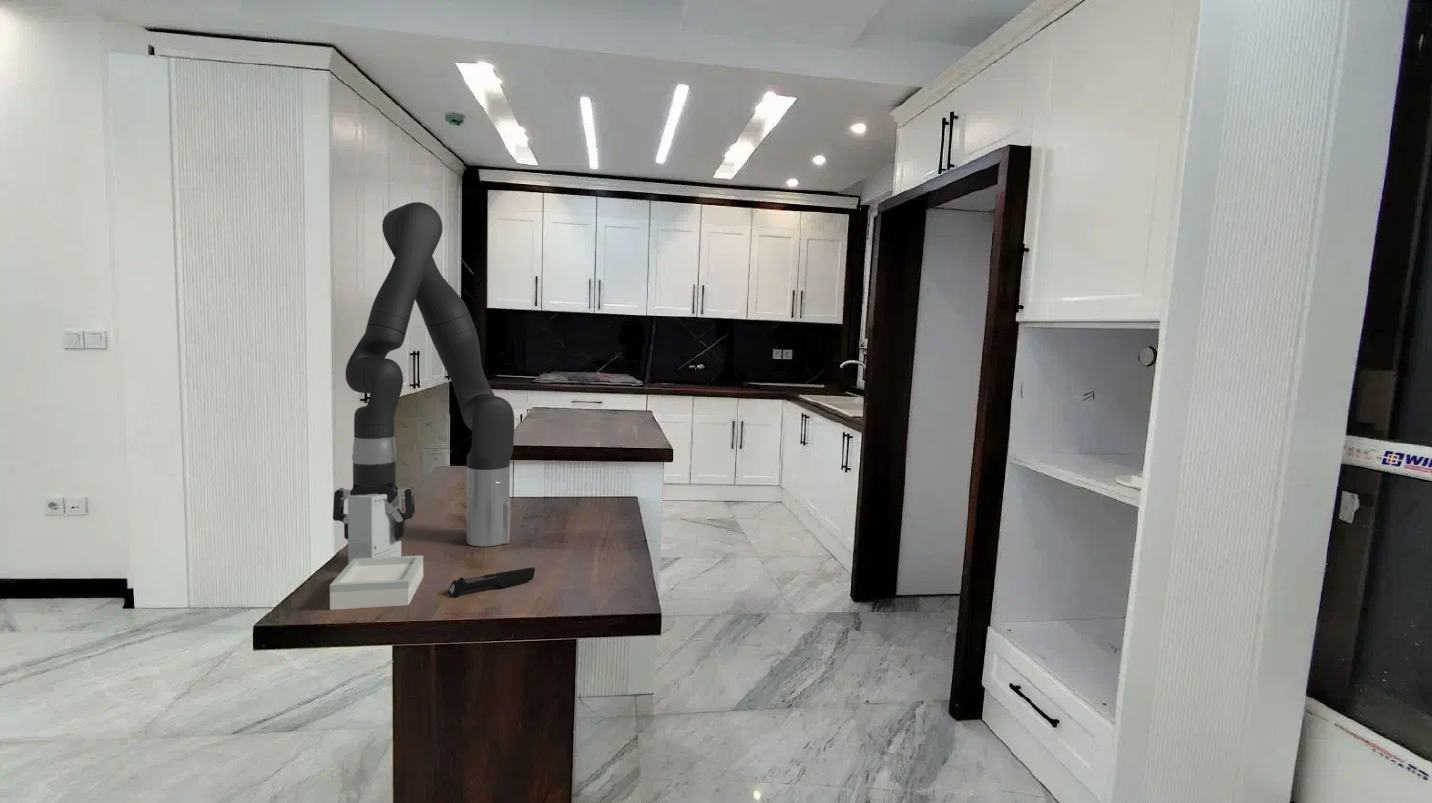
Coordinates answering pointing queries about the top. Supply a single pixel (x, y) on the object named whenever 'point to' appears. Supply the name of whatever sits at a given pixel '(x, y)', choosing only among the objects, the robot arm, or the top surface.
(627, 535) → the top surface
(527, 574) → the electric trimmer
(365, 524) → the skincare box
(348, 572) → the white open tray
